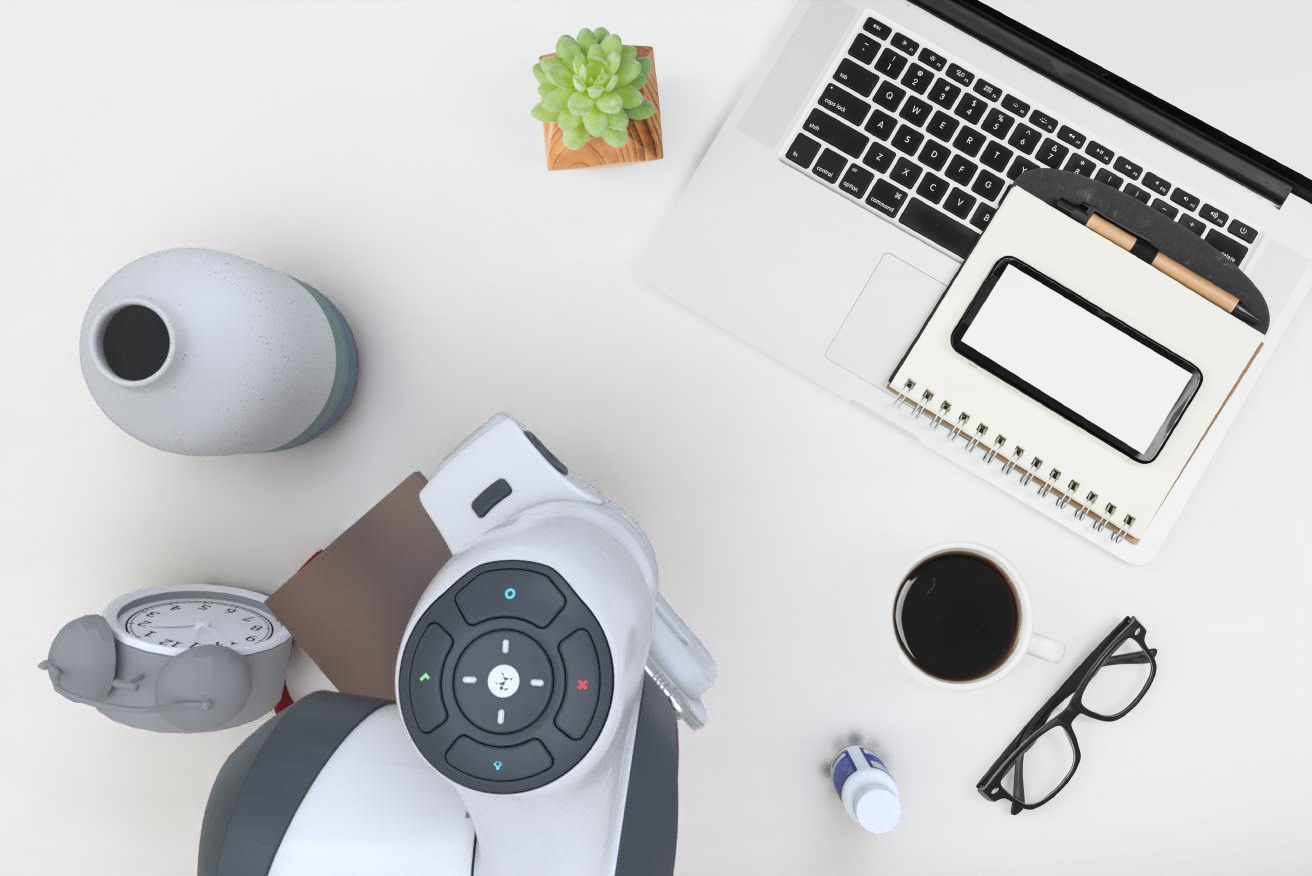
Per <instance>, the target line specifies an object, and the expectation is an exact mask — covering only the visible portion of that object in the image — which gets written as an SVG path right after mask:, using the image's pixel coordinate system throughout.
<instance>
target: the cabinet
mask: <svg viewBox="0 0 1312 876" xmlns="http://www.w3.org/2000/svg"><path fill="white" fill-rule="evenodd" d="M429 481H430V480H428V479H427V478H426V476H425V475H424V474H423V473H422V472H421V471H420V470H417V471H413V472H412V473H411V474H410V475H408V476H407V477H406V478H405V479H403V481H401V482H400V483H399V484H398V485H397V486H396V487H395V488H393V489H392V490H391V491H390V492H389V493H387V494H386V496H384V497H383V498H382V499H381V500H379V501H378V502H377V503H376V504H375V505H374V506H373V507H371V508H370V509H369V510H368V511H367V512H365V513H364V514H363V515H362V516H361V517H360V518H358V519H357V520H356V521H355V522H354V523H353V524H351V526H349V527H348V528H347V529H346V530H345V531H343V533H341V534H340V535H339V536H338V537H336V538H335V540H333V541H332V542H331V543H330V544H329V545H327V546H326V547H325V548H324V549H322V550H323V551H322V552H321V553H319V554H318V555H317V556H316V557H315V558H314V559H312V560H311V561H310V562H309V563H308V564H307V565H305V566H304V567H303V568H302V569H301V570H300V571H298V570H297V572H296V573H294V574H293V576H291V578H289V579H288V580H287V581H285V582H284V583H283V584H282V585H280V587H279V588H278V589H276V590H275V591H274V592H273V593H272V594H270V595H268V596H269V597H268V598H267V599H266V600H265V601H264V603H265V604H266V606H267V607H268V608H269V609H270V610H271V611H272V613H273V614H274V615H275V616H276V617H277V619H278V620H279V621H280V622H281V623H282V624H283V626H284V627H285V628H286V629H287V630H288V632H289V633H290V634H291V635H292V636H293V639H294V640H295V641H296V643H297V644H298V645H300V647H301V649H303V651H304V652H305V653H306V654H307V655H308V656H309V658H310V659H311V660H312V661H313V663H314V664H315V666H317V668H319V670H320V671H321V672H322V673H323V674H324V676H325V677H326V678H327V679H328V680H329V682H330V683H331V684H332V685H333V687H334V688H335V689H336V690H337V692H341V693H347V694H354V695H361V696H368V697H375V698H382V699H389V700H396V695H395V670H396V663H397V657H398V653H399V649H400V645H401V641H402V638H403V635H404V632H405V630H406V627H407V625H408V622H409V620H410V618H411V616H412V613H413V611H414V609H415V607H416V605H417V604H418V602H419V600H420V598H421V596H422V595H423V593H424V591H425V590H426V588H427V587H428V585H429V584H430V582H431V581H432V580H433V578H434V577H435V575H436V574H437V573H438V572H439V571H440V569H441V568H442V567H443V566H444V565H445V564H446V563H447V562H448V561H449V559H450V558H451V557H452V556H453V555H452V553H451V552H450V550H449V548H448V547H447V545H446V543H445V542H444V540H443V538H442V536H441V535H440V533H439V532H438V530H437V528H436V527H435V525H434V524H433V522H432V520H431V518H430V516H429V515H428V513H427V512H426V510H425V509H424V507H423V505H422V504H421V501H420V498H419V493H420V491H421V490H422V489H423V488H424V487H425V486H426V484H427V483H428V482H429Z"/></svg>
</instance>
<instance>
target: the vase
mask: <svg viewBox="0 0 1312 876" xmlns="http://www.w3.org/2000/svg"><path fill="white" fill-rule="evenodd" d="M79 332H80V333H79V340H78V341H79V343H78V344H79V345H78V350H79V351H78V353H79V354H78V355H79V363H80V368H81V372H82V376H83V379H84V382H85V384H86V387H87V389H88V391H89V393H90V395H91V398H93V400H94V402H95V403H96V405H97V407H98V408H99V409H100V410H101V411H102V413H103V414H104V415H105V416H106V417H107V418H108V419H109V420H110V421H111V423H113V425H116V426H117V427H118V428H119V429H120V430H122V432H124V433H126V435H129V436H130V437H131V438H133V439H135V440H137V441H139V442H140V443H143V444H144V445H146V446H149V447H151V448H154V449H156V450H159V451H162V452H166V453H169V454H171V453H172V454H175V455H180V456H189V457H224V456H225V457H226V456H238V455H239V456H240V455H254V454H263V453H266V454H267V453H274V452H281V451H287V450H290V449H295V448H297V447H299V446H303V445H305V444H307V443H309V442H312V441H314V440H315V439H317V438H319V437H321V435H323V434H324V433H325V432H327V431H328V430H329V429H331V428H332V427H333V425H334V424H336V423H337V421H338V420H339V419H340V418H341V417H342V416H343V414H344V412H345V411H346V410H347V408H348V406H349V405H350V404H351V403H350V402H351V400H352V398H353V396H354V393H355V390H356V387H357V384H358V379H359V367H360V366H359V365H360V364H359V363H360V362H359V352H358V347H357V343H356V340H355V336H354V334H353V332H352V329H351V327H350V325H349V323H348V320H346V318H345V317H344V315H343V314H342V312H341V311H340V310H339V308H338V307H337V306H336V305H335V304H334V303H333V302H332V301H331V299H329V298H328V297H327V296H326V295H324V294H323V293H322V292H320V291H319V290H318V289H316V288H315V287H313V286H311V285H310V284H308V283H306V282H304V281H301V280H299V279H298V278H296V277H293V276H291V275H288V274H285V273H283V272H280V271H278V270H277V269H276V270H275V269H273V268H270V267H268V266H265V265H262V264H259V263H257V262H256V261H252V260H249V259H247V258H244V257H242V256H239V255H236V254H233V253H230V252H226V251H221V250H217V249H212V248H205V247H204V248H203V247H175V248H170V249H163V250H159V251H156V252H152V253H148V254H147V255H144V256H141V257H139V258H137V259H134V260H132V261H130V262H129V263H128V264H126V265H124V266H122V267H121V268H120V269H118V270H117V271H116V272H115V273H113V274H112V275H111V276H110V277H109V278H108V279H107V280H106V281H105V282H104V283H103V284H102V285H101V286H100V287H99V289H98V290H97V291H96V293H95V294H94V296H93V297H92V299H91V301H90V303H89V305H88V307H87V309H86V311H85V314H84V317H83V320H82V323H81V328H80V331H79Z"/></svg>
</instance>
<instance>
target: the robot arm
mask: <svg viewBox="0 0 1312 876" xmlns="http://www.w3.org/2000/svg"><path fill="white" fill-rule="evenodd" d="M428 481H429V482H428V483H427V484H426V486H425V487H424V488H423V489H422V490H421V491H420V493H419V498H420V501H421V504H422V505H423V507H424V509H425V510H426V512H427V513H428V515H429V516H430V518H431V520H432V522H433V524H434V525H435V527H436V528H437V530H438V532H439V533H440V535H441V536H442V538H443V540H444V542H445V543H446V545H447V547H448V548H449V550H450V552H451V553H452V555H453V556H452V557H451V558H450V559H449V561H448V562H447V563H446V564H445V565H444V566H443V567H442V568H441V569H440V571H439V572H438V573H437V574H436V575H435V577H434V578H433V580H432V581H431V582H430V584H429V585H428V587H427V588H426V590H425V591H424V593H423V595H422V596H421V598H420V600H419V602H418V604H417V605H416V607H415V609H414V611H413V613H412V616H411V618H410V620H409V622H408V625H407V627H406V630H405V632H404V635H403V638H402V641H401V645H400V649H399V653H398V657H397V663H396V670H395V695H396V700H389V699H382V698H375V697H368V696H361V695H354V694H347V693H341V692H339V691H334V690H327V689H326V690H325V689H321V690H316V691H312V692H310V693H308V694H306V695H304V696H303V697H301V698H299V699H298V700H296V701H293V702H294V703H293V704H291V705H290V706H288V707H287V708H285V709H284V710H282V711H281V712H279V713H278V714H276V713H275V715H273V716H272V717H271V718H269V719H268V720H266V721H264V723H263V724H261V725H260V726H259V727H258V728H256V730H254V731H253V732H252V733H251V734H249V736H248V737H246V738H245V739H244V741H242V742H241V743H240V744H239V745H238V746H237V747H236V748H235V749H234V750H233V752H232V753H231V754H230V755H228V757H227V759H226V760H225V761H224V763H223V764H222V766H221V768H220V769H219V771H218V773H217V775H216V777H215V780H214V782H213V783H212V784H213V785H212V787H211V789H210V793H209V795H208V798H207V802H206V806H205V809H204V813H203V818H202V823H201V829H200V835H199V843H198V854H197V869H196V876H674V872H675V864H676V856H677V844H678V830H679V767H680V763H679V761H680V741H679V725H678V721H680V720H682V721H684V723H685V724H686V725H687V726H688V727H689V729H690V730H691V731H693V732H697V731H698V730H702V729H703V728H704V727H705V724H707V721H708V718H707V710H706V708H705V705H704V703H703V701H702V700H701V698H700V697H701V696H703V695H704V694H705V693H706V692H707V691H708V690H710V689H711V688H712V687H713V685H714V683H715V680H716V677H717V664H716V661H715V660H714V658H713V656H712V654H711V652H709V650H708V649H707V647H706V646H705V645H704V644H703V642H702V641H700V639H699V638H698V637H697V635H695V633H694V632H693V631H692V630H691V629H690V627H689V626H688V625H687V624H686V622H685V621H684V620H683V619H682V618H681V616H679V614H678V613H677V612H676V611H675V610H674V608H673V607H672V606H671V605H670V604H669V602H668V601H667V600H666V599H665V598H664V597H663V596H662V594H661V593H660V591H659V581H660V579H659V578H660V577H659V575H660V574H659V565H658V561H657V556H656V552H655V550H654V548H653V545H652V543H651V540H650V539H649V536H648V535H647V533H646V531H644V529H643V528H642V526H641V525H640V524H639V523H638V522H637V520H636V519H634V517H632V515H630V514H629V513H628V512H627V511H625V510H624V509H623V508H621V507H619V506H618V505H617V504H615V503H613V502H611V501H608V500H606V497H605V496H604V495H603V494H602V493H600V492H599V491H598V490H597V489H595V488H593V487H592V486H591V485H589V484H587V483H586V482H585V481H583V480H582V479H580V478H579V477H577V476H576V475H575V474H574V473H572V472H571V471H570V470H569V468H568V467H567V466H566V465H565V464H564V463H563V462H562V461H561V460H559V459H558V458H557V457H556V455H554V454H553V453H552V452H551V451H550V450H549V449H548V447H546V446H545V445H544V444H543V442H542V441H541V440H540V439H539V438H538V437H537V435H535V433H533V431H531V430H529V429H528V428H527V427H526V425H524V423H523V422H522V421H520V420H519V419H517V418H514V417H513V416H510V415H509V414H508V413H506V412H505V411H498V412H496V413H495V414H493V415H492V416H491V417H489V419H487V421H485V422H483V424H481V425H480V426H479V427H478V428H477V429H476V430H474V431H472V433H471V434H469V436H467V437H466V438H465V439H464V440H462V441H461V443H459V444H458V445H456V447H455V448H454V449H453V450H452V451H450V452H449V453H448V454H447V455H445V457H444V458H443V459H442V460H441V461H440V462H439V464H438V466H437V472H436V473H435V474H434V476H433V477H432V478H431V479H430V480H428Z"/></svg>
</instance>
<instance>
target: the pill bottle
mask: <svg viewBox="0 0 1312 876" xmlns="http://www.w3.org/2000/svg"><path fill="white" fill-rule="evenodd" d="M829 772H830V778H831V782H832V785H833V787H834V789H835V791H836V794H837V795H838V798H839V800H840V802H841V804H842V807H843V808H844V810H845V812H846V814H847V815H848V817H849V818H850V819H852V820H853V821H854V822H855V823H857V824H859V825H860V826H861V827H862V828H863V829H864V830H866V831H867V832H869V833H872V834H875V835H882V834H886V833H889V832H891V831H892V830H894V829H895V828H896V826H898V824H899V822H900V819H901V817H902V816H901V815H902V807H901V805H900V799H901V798H900V797H901V796H900V790H899V787H898V785H897V783H896V781H895V780H894V778H893V776H892V775H891V773H890V772H889V770H888V768H887V767H886V765H885V763H884V762H883V760H882V759H881V758H880V756H879V755H878V754H877V752H875V751H874V750H873V749H871V748H869V747H867V746H865V745H859V744H858V745H855V744H853V745H849V746H846V747H844V748H842V749H841V750H840V751H838V752H837V753H836V755H835V756H834V757H833V759H832V761H831V764H830V770H829Z"/></svg>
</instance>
